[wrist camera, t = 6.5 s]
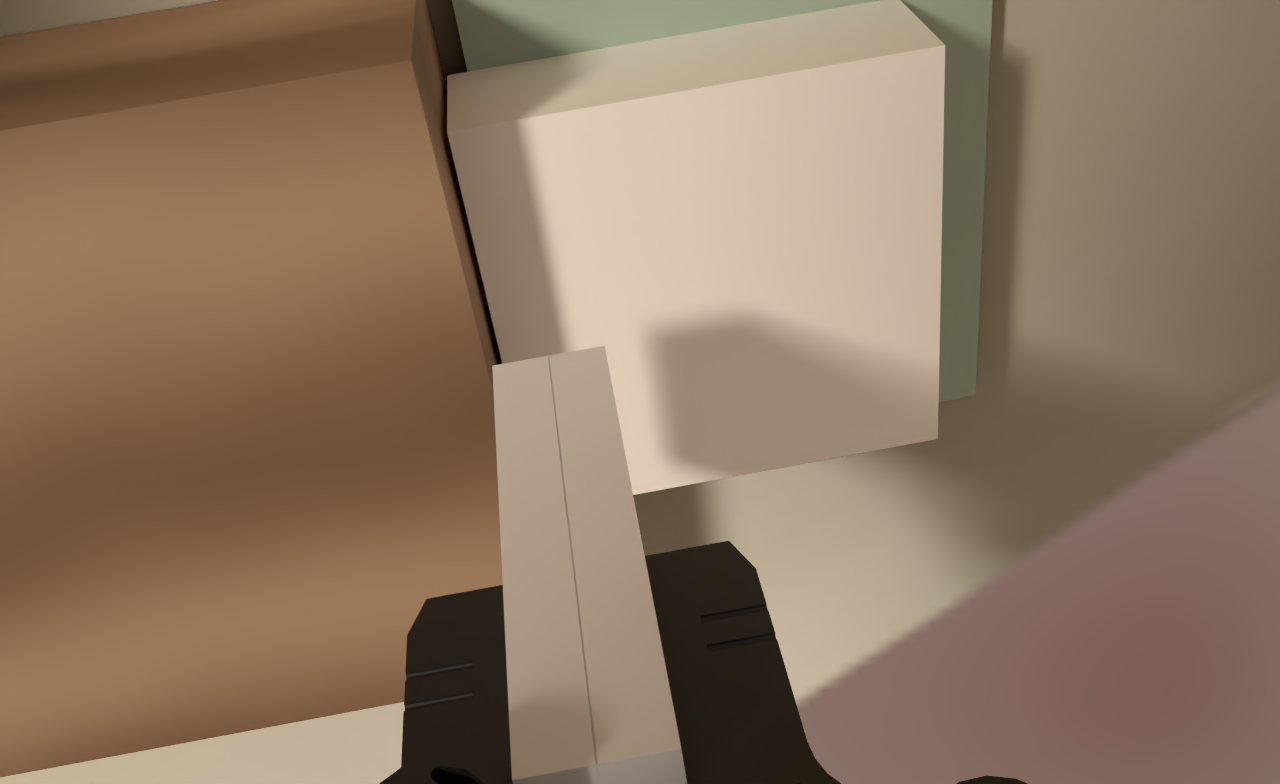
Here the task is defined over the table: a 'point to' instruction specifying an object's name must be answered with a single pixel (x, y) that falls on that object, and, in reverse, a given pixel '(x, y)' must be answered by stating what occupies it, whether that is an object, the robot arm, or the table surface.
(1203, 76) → the table surface
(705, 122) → the tile
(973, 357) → the mat
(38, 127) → the brown flat block
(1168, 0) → the table surface
